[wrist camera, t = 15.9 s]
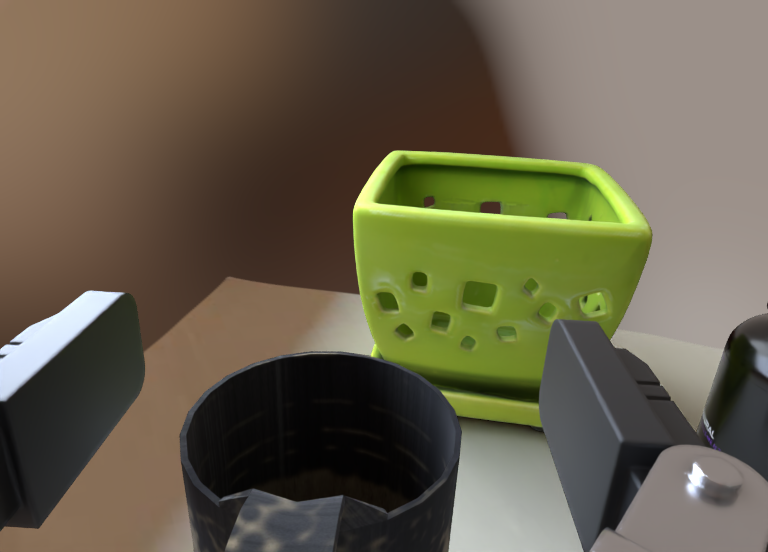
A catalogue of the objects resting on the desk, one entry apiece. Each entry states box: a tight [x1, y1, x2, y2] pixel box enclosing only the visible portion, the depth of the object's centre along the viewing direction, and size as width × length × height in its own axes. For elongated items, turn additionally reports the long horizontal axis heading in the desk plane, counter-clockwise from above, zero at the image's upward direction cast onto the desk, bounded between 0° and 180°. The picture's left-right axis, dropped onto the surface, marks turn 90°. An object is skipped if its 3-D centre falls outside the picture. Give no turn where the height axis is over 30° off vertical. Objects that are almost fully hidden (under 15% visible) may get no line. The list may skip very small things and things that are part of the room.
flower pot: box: [353, 151, 652, 431], centre depth 34 cm, size 14×14×13 cm
